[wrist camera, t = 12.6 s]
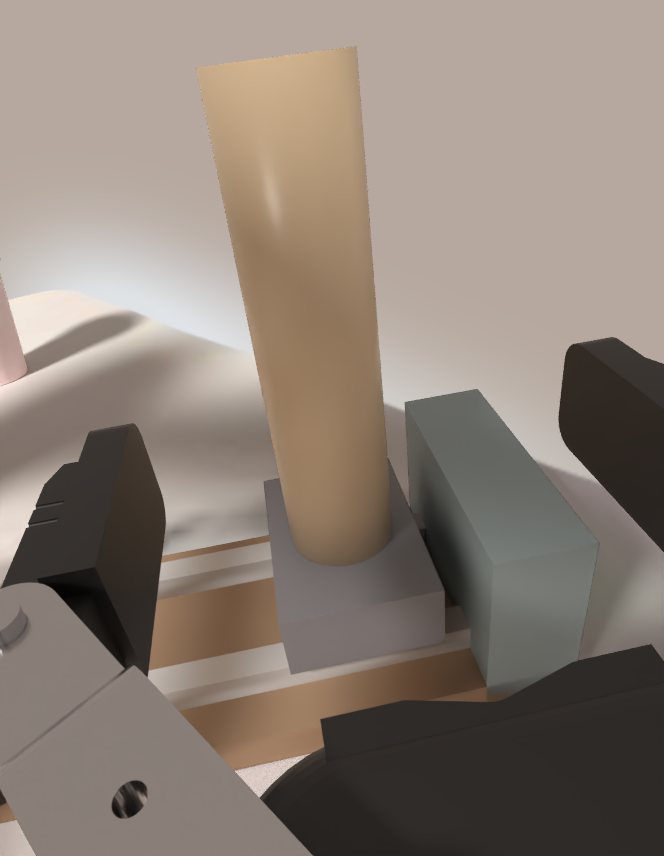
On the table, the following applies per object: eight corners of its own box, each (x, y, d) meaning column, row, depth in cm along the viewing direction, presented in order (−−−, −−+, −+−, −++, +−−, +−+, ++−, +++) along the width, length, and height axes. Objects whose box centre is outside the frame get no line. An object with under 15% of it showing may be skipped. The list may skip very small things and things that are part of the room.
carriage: (290, 674, 18) (142, 74, 10) (274, 526, 24) (172, 70, 15) (445, 641, 19) (437, 35, 10) (391, 503, 25) (357, 46, 16)
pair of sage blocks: (-175, 862, 18) (-344, 737, 14) (-54, 618, 26) (-141, 495, 22) (571, 694, 20) (599, 542, 16) (470, 514, 28) (473, 384, 24)
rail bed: (-175, 862, 18) (-226, 824, 17) (-58, 625, 25) (-87, 586, 24) (571, 694, 20) (579, 647, 18) (473, 519, 27) (475, 477, 26)
